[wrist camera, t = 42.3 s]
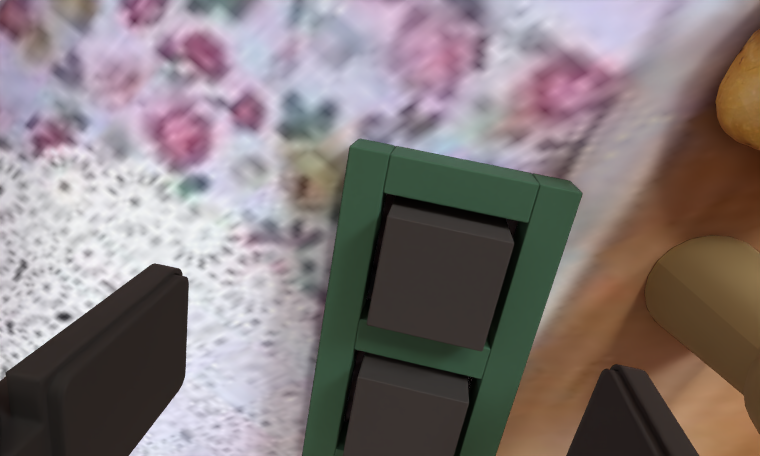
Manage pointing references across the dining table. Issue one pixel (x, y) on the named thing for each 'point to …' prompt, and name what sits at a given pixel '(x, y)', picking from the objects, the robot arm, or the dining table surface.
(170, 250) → the dining table surface
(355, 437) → the pad
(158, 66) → the dining table surface
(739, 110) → the bread roll
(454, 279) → the pad
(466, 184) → the green rectangular frame
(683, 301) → the pepper mill
